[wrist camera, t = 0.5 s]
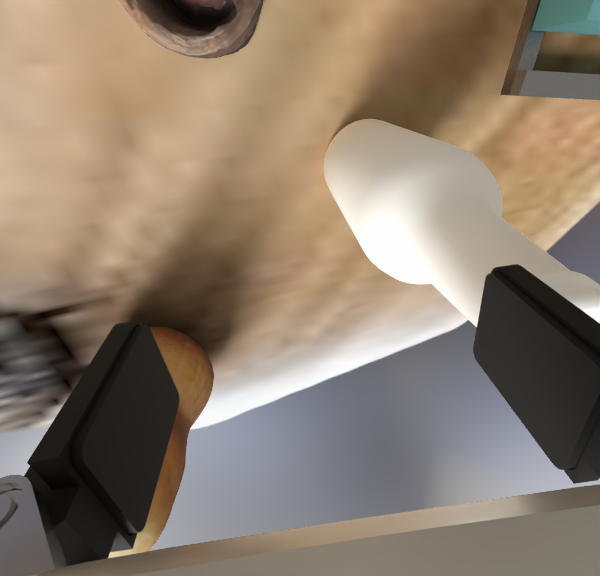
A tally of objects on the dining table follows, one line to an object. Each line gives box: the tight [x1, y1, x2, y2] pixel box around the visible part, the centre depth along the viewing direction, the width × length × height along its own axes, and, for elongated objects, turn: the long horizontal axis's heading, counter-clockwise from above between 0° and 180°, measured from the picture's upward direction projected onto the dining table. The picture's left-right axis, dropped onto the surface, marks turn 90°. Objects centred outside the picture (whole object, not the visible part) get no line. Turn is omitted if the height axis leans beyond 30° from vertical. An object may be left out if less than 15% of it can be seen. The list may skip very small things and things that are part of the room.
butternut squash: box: [108, 327, 214, 558], centre depth 37 cm, size 14×13×25 cm
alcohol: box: [324, 119, 600, 327], centre depth 24 cm, size 9×9×30 cm
